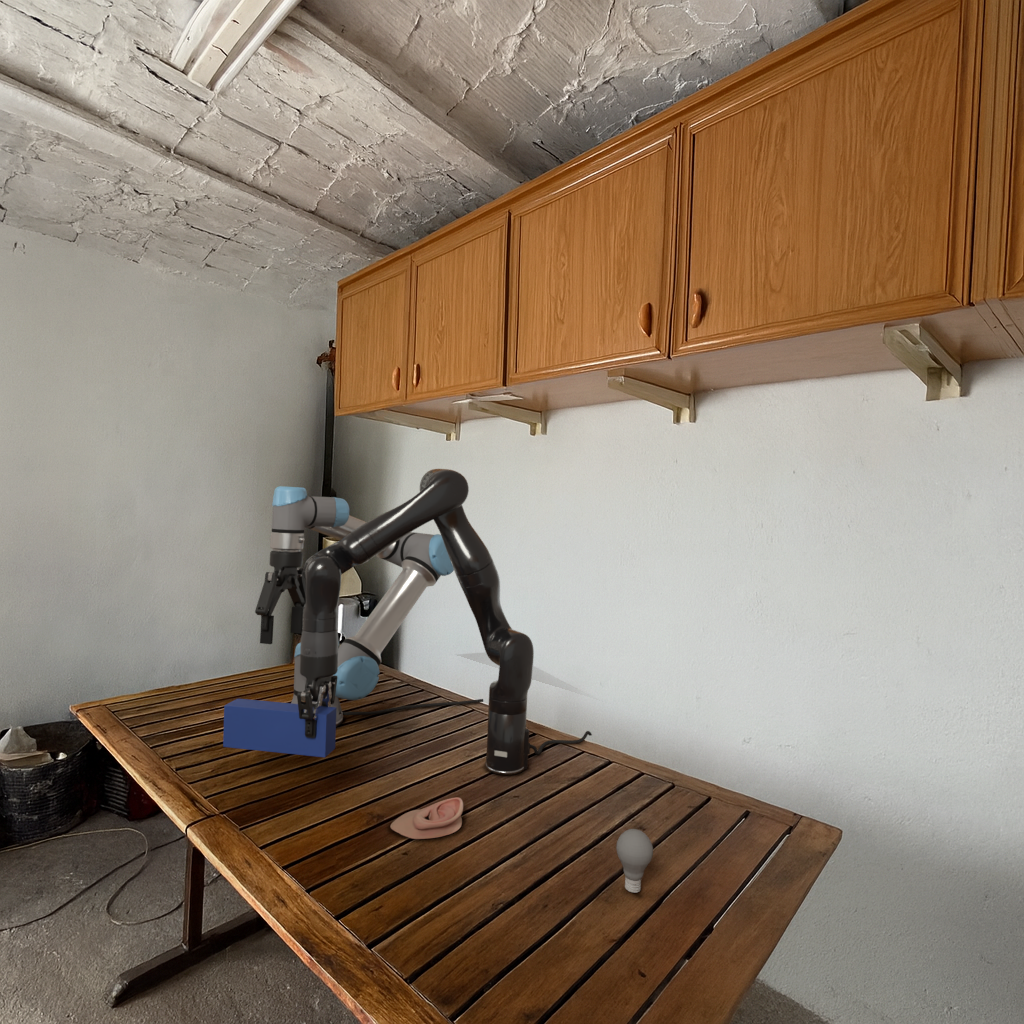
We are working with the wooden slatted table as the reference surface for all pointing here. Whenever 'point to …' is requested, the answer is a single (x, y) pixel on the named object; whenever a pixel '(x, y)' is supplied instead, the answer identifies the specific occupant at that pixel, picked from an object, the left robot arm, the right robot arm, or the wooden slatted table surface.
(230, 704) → the bar
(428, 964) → the wooden slatted table surface
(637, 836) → the light bulb
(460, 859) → the wooden slatted table surface
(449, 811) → the anatomical model
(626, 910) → the wooden slatted table surface
